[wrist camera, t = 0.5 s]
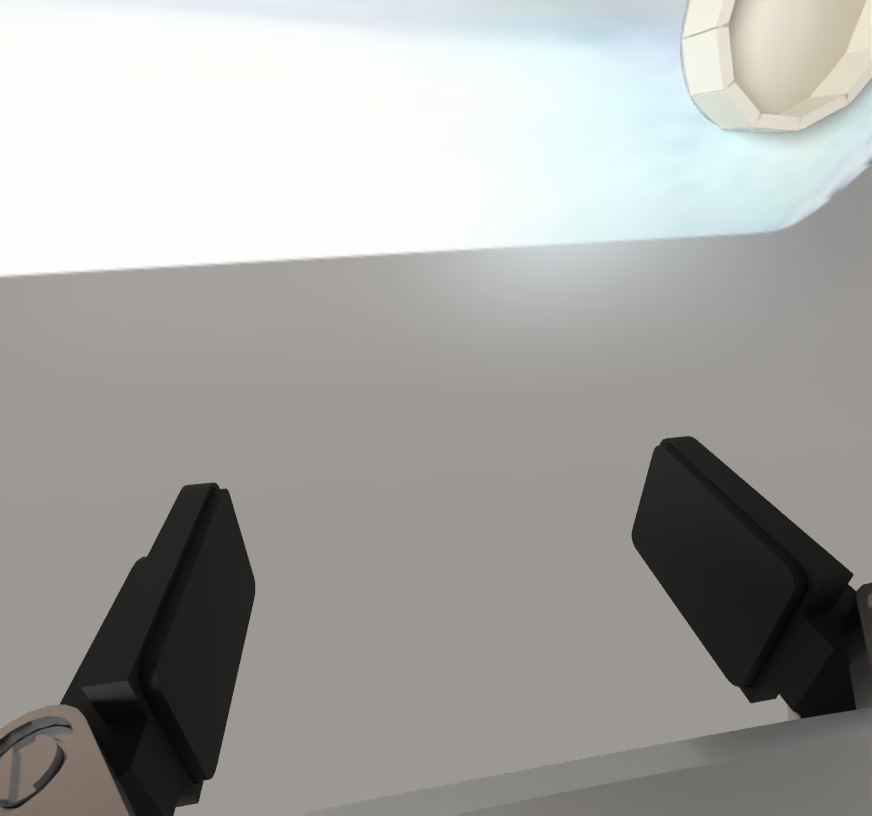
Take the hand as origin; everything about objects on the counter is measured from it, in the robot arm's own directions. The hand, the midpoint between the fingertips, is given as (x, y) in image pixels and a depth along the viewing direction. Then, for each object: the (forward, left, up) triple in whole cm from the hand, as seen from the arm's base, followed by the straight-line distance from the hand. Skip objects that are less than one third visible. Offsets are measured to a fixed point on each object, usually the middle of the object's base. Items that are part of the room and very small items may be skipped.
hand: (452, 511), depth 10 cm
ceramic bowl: (-17, +27, -30) cm, 44 cm away
